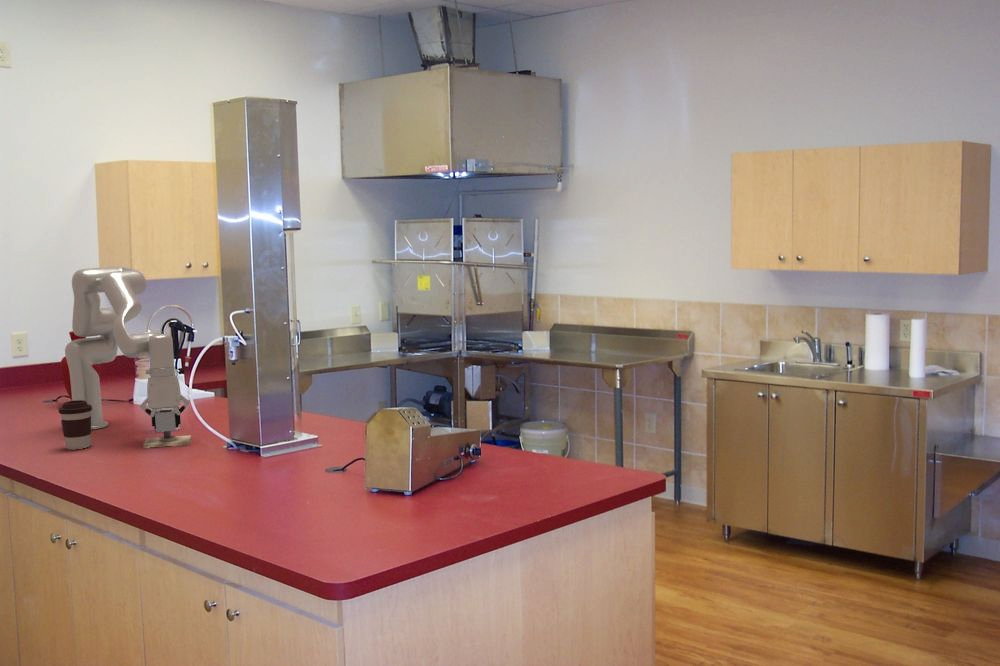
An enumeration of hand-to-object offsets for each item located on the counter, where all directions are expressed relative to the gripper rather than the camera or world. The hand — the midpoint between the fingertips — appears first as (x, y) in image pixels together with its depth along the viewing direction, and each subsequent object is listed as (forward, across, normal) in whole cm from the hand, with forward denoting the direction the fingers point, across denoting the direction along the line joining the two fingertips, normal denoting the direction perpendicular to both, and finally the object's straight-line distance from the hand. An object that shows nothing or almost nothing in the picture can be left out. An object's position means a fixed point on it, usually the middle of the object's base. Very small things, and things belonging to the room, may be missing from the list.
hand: (166, 427), depth 335 cm
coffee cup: (+6, -28, +5) cm, 29 cm away
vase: (+5, -39, +88) cm, 96 cm away
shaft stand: (+5, 0, 0) cm, 5 cm away
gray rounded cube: (+1, 0, 0) cm, 1 cm away
